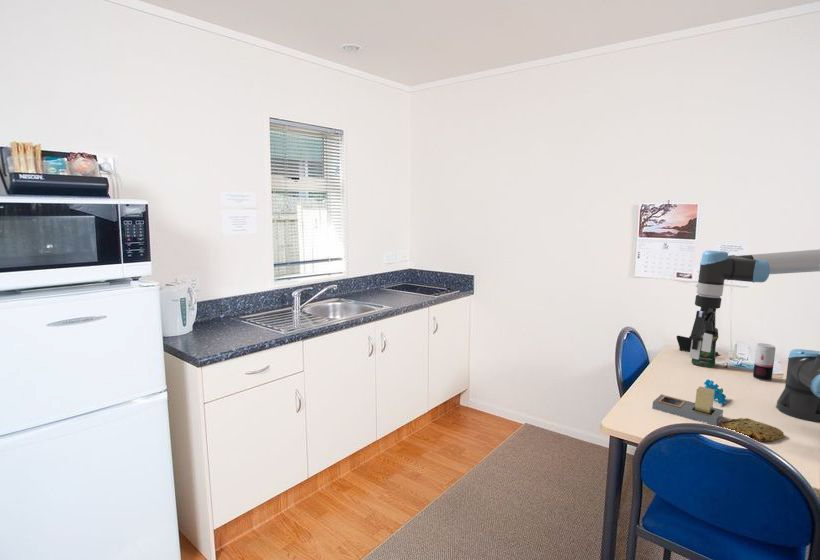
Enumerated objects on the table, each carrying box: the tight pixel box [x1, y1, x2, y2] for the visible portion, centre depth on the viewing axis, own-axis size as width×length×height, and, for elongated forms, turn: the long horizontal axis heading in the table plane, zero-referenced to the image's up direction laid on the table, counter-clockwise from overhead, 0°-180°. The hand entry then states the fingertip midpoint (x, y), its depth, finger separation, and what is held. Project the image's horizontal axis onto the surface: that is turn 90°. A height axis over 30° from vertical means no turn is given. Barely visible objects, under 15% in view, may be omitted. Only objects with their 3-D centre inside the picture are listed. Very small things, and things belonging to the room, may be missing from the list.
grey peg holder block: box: [652, 394, 724, 426], centre depth 167 cm, size 20×10×3 cm, turn 46°
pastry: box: [720, 417, 785, 442], centre depth 153 cm, size 17×17×3 cm
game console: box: [676, 335, 719, 357], centre depth 240 cm, size 16×14×9 cm
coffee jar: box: [690, 327, 719, 368], centre depth 219 cm, size 10×8×19 cm
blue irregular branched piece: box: [703, 379, 728, 405], centre depth 178 cm, size 11×6×10 cm
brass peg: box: [694, 385, 715, 415], centre depth 163 cm, size 4×4×10 cm
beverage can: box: [752, 342, 777, 382], centre depth 202 cm, size 7×7×15 cm
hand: (700, 354), depth 164 cm, fingers open, 13 cm apart
